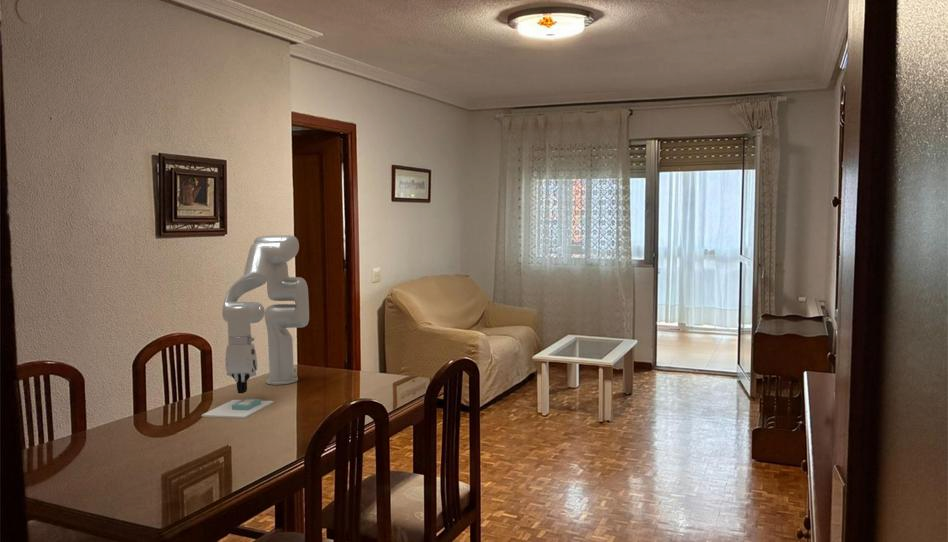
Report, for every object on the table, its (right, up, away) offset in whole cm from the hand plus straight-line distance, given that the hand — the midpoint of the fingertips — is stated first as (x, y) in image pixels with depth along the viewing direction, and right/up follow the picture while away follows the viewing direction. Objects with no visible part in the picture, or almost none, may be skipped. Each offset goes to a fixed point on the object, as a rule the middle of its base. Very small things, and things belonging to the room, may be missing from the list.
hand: (242, 392), depth 247 cm
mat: (-1, -6, -1) cm, 6 cm away
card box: (-1, -4, 0) cm, 4 cm away
